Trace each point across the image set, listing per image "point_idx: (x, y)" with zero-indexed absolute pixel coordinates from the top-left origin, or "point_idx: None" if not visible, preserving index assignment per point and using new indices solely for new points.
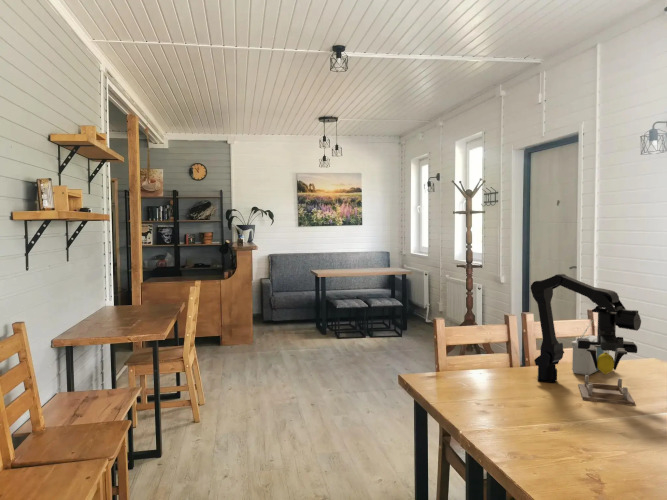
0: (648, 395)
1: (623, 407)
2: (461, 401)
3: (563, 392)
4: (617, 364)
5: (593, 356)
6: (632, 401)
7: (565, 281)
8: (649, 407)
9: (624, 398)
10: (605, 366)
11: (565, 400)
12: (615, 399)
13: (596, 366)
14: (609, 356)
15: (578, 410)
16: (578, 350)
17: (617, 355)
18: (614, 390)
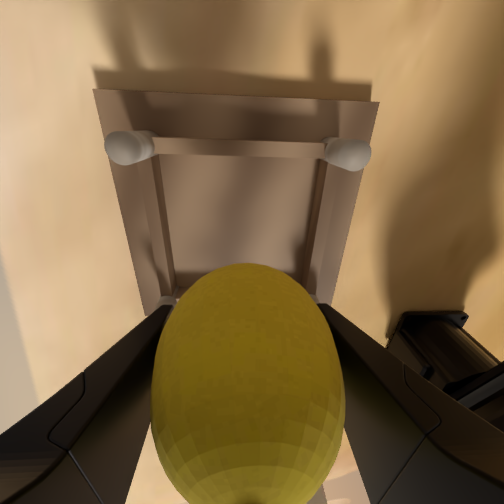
0: (60, 282)
1: (165, 13)
2: None
3: (421, 205)
4: (120, 341)
5: (446, 405)
6: (108, 106)
7: None
8: (22, 76)
9: (150, 130)
10: (260, 279)
11: (477, 53)
12: (202, 115)
13: (327, 312)
14: (199, 444)
15: None
16: None
17: (14, 492)
18: (194, 273)
